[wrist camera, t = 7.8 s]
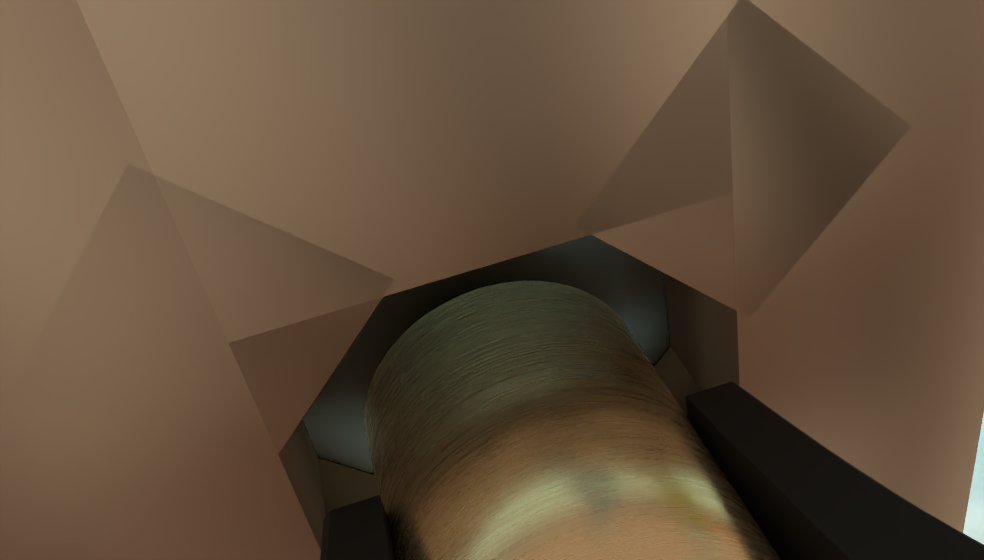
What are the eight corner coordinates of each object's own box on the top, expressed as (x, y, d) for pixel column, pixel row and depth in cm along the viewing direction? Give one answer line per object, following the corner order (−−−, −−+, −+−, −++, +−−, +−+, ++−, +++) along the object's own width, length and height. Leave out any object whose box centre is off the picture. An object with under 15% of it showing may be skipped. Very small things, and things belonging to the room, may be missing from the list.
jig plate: (-126, 846, 17) (-174, 1006, 15) (-943, 178, 9) (-1297, 324, 7) (870, 504, 19) (951, 601, 17) (935, -281, 11) (1102, -276, 9)
